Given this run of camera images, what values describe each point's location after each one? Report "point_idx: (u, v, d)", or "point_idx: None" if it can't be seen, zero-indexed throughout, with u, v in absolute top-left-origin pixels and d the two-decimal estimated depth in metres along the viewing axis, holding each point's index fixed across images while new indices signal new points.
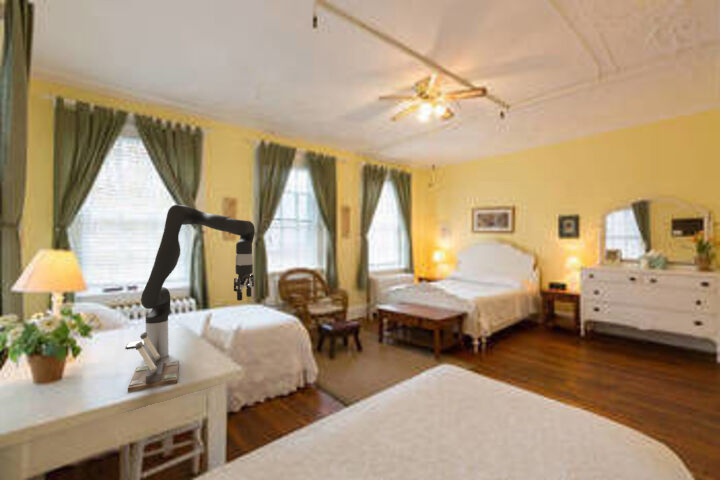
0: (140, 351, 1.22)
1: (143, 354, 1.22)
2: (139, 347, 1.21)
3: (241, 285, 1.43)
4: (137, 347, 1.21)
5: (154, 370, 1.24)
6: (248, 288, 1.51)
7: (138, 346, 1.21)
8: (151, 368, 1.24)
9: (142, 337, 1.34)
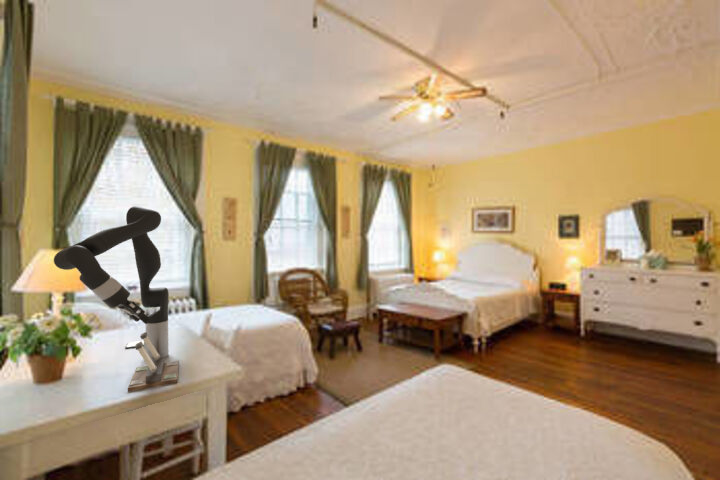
0: (140, 351, 1.22)
1: (143, 354, 1.22)
2: (139, 347, 1.21)
3: None
4: (137, 347, 1.21)
5: (154, 370, 1.24)
6: None
7: (138, 346, 1.21)
8: (151, 368, 1.24)
9: (142, 337, 1.34)
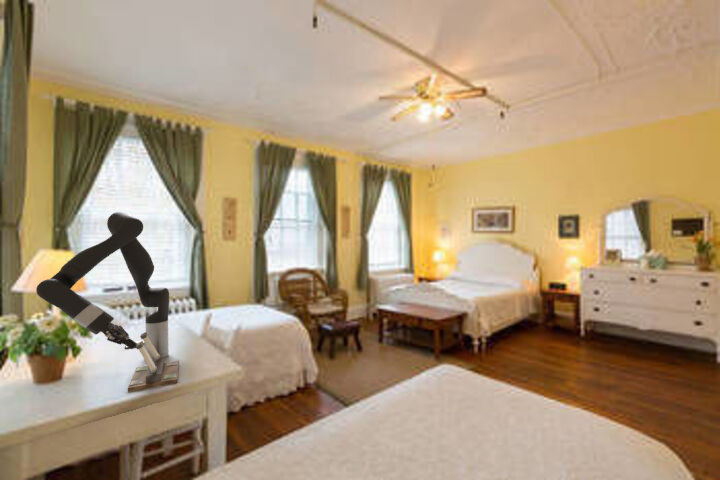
0: (141, 351, 1.22)
1: (144, 354, 1.22)
2: (140, 347, 1.22)
3: None
4: (138, 346, 1.21)
5: (154, 370, 1.24)
6: None
7: (139, 346, 1.21)
8: (151, 368, 1.24)
9: (142, 337, 1.34)
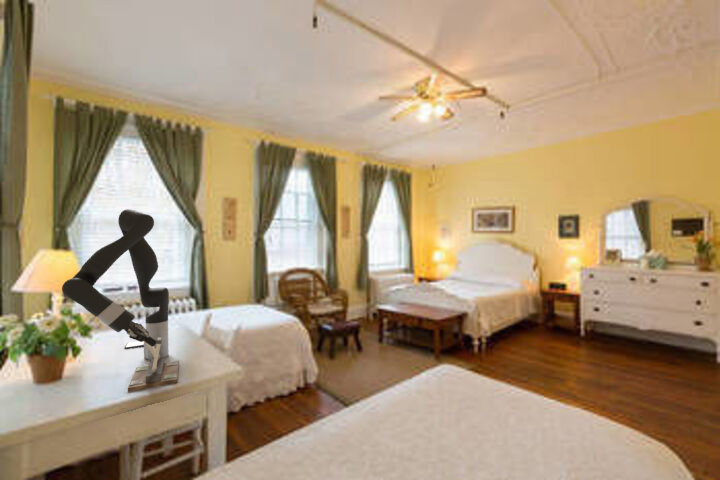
0: (157, 346, 1.24)
1: (157, 351, 1.24)
2: (159, 342, 1.25)
3: None
4: (158, 342, 1.24)
5: (154, 371, 1.24)
6: None
7: (159, 341, 1.25)
8: (153, 367, 1.24)
9: None
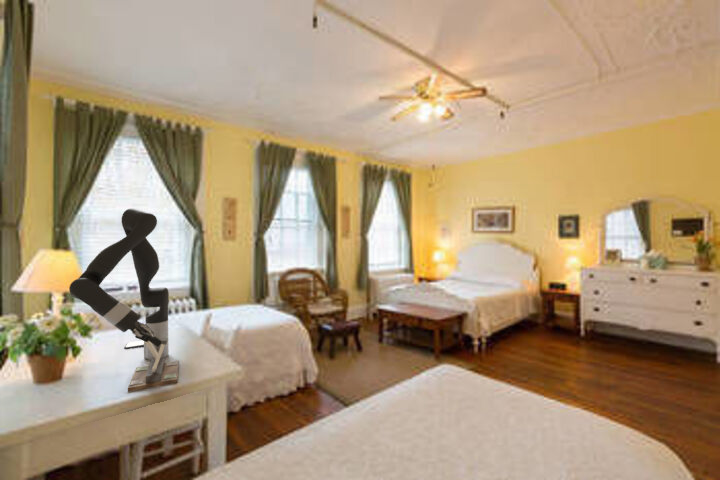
0: (161, 347, 1.25)
1: (161, 351, 1.25)
2: (164, 343, 1.25)
3: None
4: (163, 342, 1.25)
5: (154, 371, 1.24)
6: None
7: (164, 342, 1.25)
8: (154, 367, 1.24)
9: None
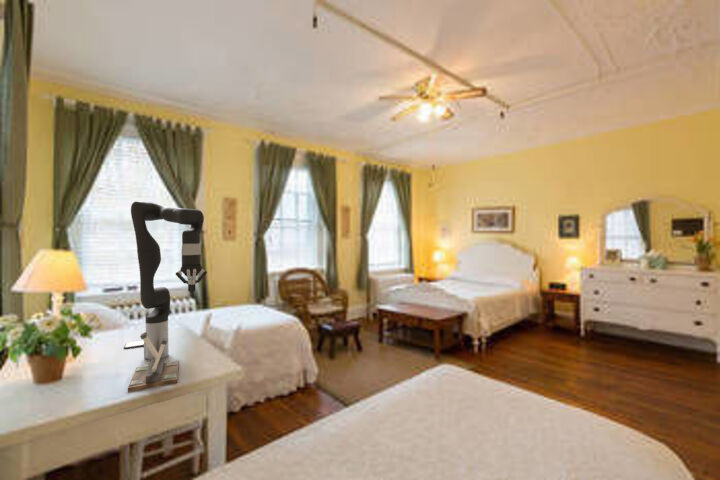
0: (161, 347, 1.25)
1: (161, 351, 1.25)
2: (164, 343, 1.25)
3: None
4: (163, 342, 1.25)
5: (154, 371, 1.24)
6: (192, 283, 1.42)
7: (164, 342, 1.25)
8: (154, 367, 1.24)
9: (142, 337, 1.34)
